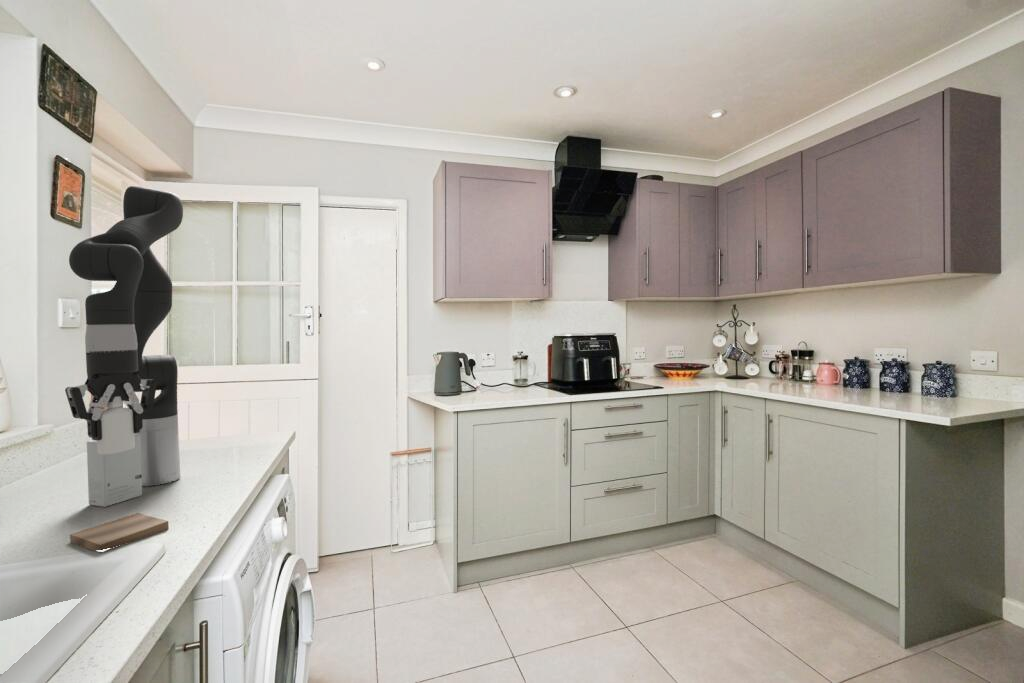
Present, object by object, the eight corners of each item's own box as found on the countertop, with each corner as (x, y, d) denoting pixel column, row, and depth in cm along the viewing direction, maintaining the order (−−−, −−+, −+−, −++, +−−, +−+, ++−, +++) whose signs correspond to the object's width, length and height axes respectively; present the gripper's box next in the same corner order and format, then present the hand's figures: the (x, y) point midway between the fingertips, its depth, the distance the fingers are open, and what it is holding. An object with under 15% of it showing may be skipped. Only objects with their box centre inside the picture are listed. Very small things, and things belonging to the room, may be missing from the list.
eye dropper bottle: (95, 452, 89) (92, 390, 88) (133, 446, 93) (130, 386, 93) (99, 456, 86) (95, 392, 86) (137, 450, 90) (134, 388, 90)
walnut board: (70, 542, 87) (69, 534, 87) (138, 519, 97) (137, 512, 97) (100, 553, 83) (100, 544, 83) (168, 528, 92) (168, 521, 92)
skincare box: (105, 508, 104) (102, 442, 104) (87, 505, 106) (83, 440, 106) (144, 494, 112) (141, 433, 112) (127, 492, 114) (124, 432, 114)
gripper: (144, 346, 97) (147, 427, 98) (53, 350, 84) (58, 443, 85) (165, 346, 94) (168, 430, 94) (73, 350, 81) (78, 447, 81)
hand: (116, 435), depth 89 cm, fingers closed on eye dropper bottle, 5 cm apart
